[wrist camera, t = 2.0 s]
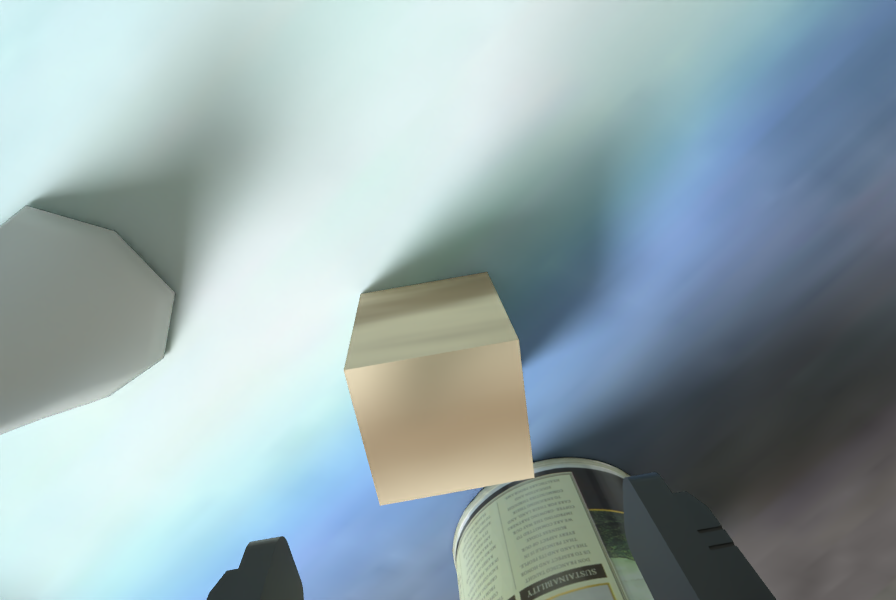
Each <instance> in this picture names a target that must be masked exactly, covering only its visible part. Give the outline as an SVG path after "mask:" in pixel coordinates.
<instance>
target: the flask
mask: <svg viewBox="0 0 896 600" xmlns="http://www.w3.org/2000/svg"><path fill="white" fill-rule="evenodd" d="M174 297H175V292H174V291H173V290H172V289H171V288H170V287H169V286H168V285H167V284H166V283H165V282H164V281H163V280H162V279H161V278H160V277H159V276H158V275H157V274H156V273H155V272H154V271H153V270H152V269H151V268H150V267H149V266H148V265H147V264H146V263H145V261H144V260H143V259H142V258H141V257H140V256H139V255H138V254H137V253H136V252H135V251H134V250H133V249H132V248H131V247H130V246H129V245H128V244H127V243H126V242H125V241H124V240H123V239H122V238H121V237H120V236H119V235H118V234H117V233H116V232H115V231H112V230H109V229H105V228H102V227H99V226H95V225H92V224H88V223H85V222H81V221H78V220H74V219H71V218H67V217H64V216H60V215H57V214H53V213H50V212H47V211H43V210H40V209H36V208H33V207H29V206H25V207H23V208H22V209H21V210H20V211H18V212H17V213H16V214H14V215H13V216H12V217H11V218H9V219H8V220H7V221H6V222H4V223H3V224H2V225H1V226H0V435H1V434H3V433H6V432H9V431H11V430H14V429H17V428H19V427H22V426H25V425H27V424H30V423H32V422H35V421H38V420H40V419H43V418H46V417H49V416H52V415H55V414H58V413H61V412H64V411H67V410H70V409H73V408H76V407H80V406H83V405H86V404H89V403H92V402H95V401H97V400H100V399H103V398H105V397H108V396H110V395H112V394H113V393H114V392H116V391H117V390H119V389H120V388H122V387H123V386H125V385H126V384H127V383H129V382H130V381H132V380H133V379H135V378H136V377H137V376H139V375H140V374H142V373H143V372H145V371H146V370H147V369H149V368H150V367H152V366H153V365H155V364H156V363H158V362H159V361H160V360H162V359H163V358H164V353H165V348H166V342H167V336H168V331H169V325H170V320H171V314H172V308H173V303H174Z"/></svg>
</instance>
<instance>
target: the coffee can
mask: <svg viewBox="0 0 896 600" xmlns="http://www.w3.org/2000/svg"><path fill="white" fill-rule="evenodd" d="M533 469H534V477H535V478H531V479H525V480H519V481H514V482H508V483H503V484H497V485H492V486H486V487H485V488H484V489H483V490H482V491H481V492H479V494H478V495H477V496H476V497H475V499H474V500H473V501H472V502H471V503H470V504H469V505H468V506H467V508H466V509H465V511H464V513H463V515H462V517H461V518H460V520H459V523H458V525H457V528H456V531H455V535H454V542H453V550H452V551H453V557H454V562H455V567H456V571H457V577H458V586H459V595H460V600H654V598H653V596H652V594H651V592H650V590H649V588H648V586H647V584H646V582H645V580H644V578H643V576H642V574H641V572H640V570H639V568H638V566H637V564H636V562H635V560H634V558H633V556H632V554H631V551H630V549H629V546H628V543H627V539H626V535H625V529H624V508H623V479H624V478H625V477H630V475H628V474H626V473H625V472H623V471H622V470H620V469H618V468H616V467H614V466H611V465H609V464H606V463H603V462H600V461H596V460H591V459H585V458H553V459H548V460H542V461H538V462H534V463H533Z"/></svg>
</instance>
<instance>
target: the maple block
mask: <svg viewBox="0 0 896 600" xmlns="http://www.w3.org/2000/svg"><path fill="white" fill-rule="evenodd" d="M344 373H345V377H346V380H347V384H348V388H349V392H350V395H351V399H352V403H353V406H354V410H355V414H356V418H357V421H358V425H359V429H360V433H361V436H362V440H363V444H364V447H365V451H366V455H367V459H368V462H369V466H370V470H371V474H372V477H373V481H374V485H375V488H376V492H377V496H378V500H379V503H380V505H386V504H391V503H397V502H403V501H408V500H414V499H419V498H425V497H430V496H436V495H441V494H447V493H453V492H458V491H464V490H469V489H475V488H480V487H486V486H492V485H497V484H503V483H508V482H514V481H519V480H525V479H531V478H535V477H534V469H533V460H532V451H531V442H530V434H529V425H528V416H527V407H526V399H525V390H524V381H523V372H522V363H521V355H520V346H519V339H518V337H517V335H516V333H515V330H514V328H513V326H512V324H511V322H510V320H509V318H508V315H507V313H506V311H505V309H504V307H503V305H502V302H501V300H500V298H499V296H498V294H497V292H496V290H495V287H494V285H493V283H492V281H491V279H490V277H489V274H488V272H484V273H478V274H472V275H466V276H461V277H455V278H449V279H443V280H438V281H432V282H426V283H420V284H415V285H409V286H403V287H397V288H392V289H386V290H380V291H374V292H369V293H363V294H361V295H360V299H359V304H358V308H357V313H356V317H355V322H354V327H353V331H352V336H351V340H350V345H349V349H348V354H347V358H346V363H345V367H344Z"/></svg>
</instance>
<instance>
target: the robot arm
mask: <svg viewBox="0 0 896 600" xmlns="http://www.w3.org/2000/svg"><path fill="white" fill-rule="evenodd" d="M623 508H624V529H625V535H626V539H627V543H628V546H629V549H630V551H631V554H632V556H633V558H634V560H635V562H636V564H637V566H638V568H639V570H640V572H641V574H642V576H643V578H644V580H645V582H646V584H647V586H648V588H649V590H650V592H651V594H652V596H653V598H654V600H776V598H775V597H774V596H773V594H772V593H771V592H770V590H769V589H768V588H767V586H766V585H765V584H764V582H763V581H762V580H761V578H760V577H759V576H758V574H757V573H756V572H755V570H754V569H753V568H752V566H751V565H750V563H749V562H748V561H747V559H746V558H745V557H744V555H743V554H742V553H741V551H740V550H739V549H738V547H737V546H735V545H734V543H733V541H732V539H731V538H730V537H729V535H728V534H727V533H726V531H725V530H723V529H722V526H721V524H720V523H719V522H718V520H717V519H716V518H715V516H714V515H713V514H712V512H711V511H710V510H709V508H708V507H707V506H706V505H704V504H703V503H702V502H700V501H699V500H697V499H696V498H694V497H693V496H692V495H690V494H689V493H687V492H686V491H685V492H679V493H674V494H672V493H671V491H670V490H669V488H668V487H667V485H666V484H665V482H664V481H663V479H662V478H661V477H660V475H659V474H658V473H656V472H653V473H647V474H642V475H636V476H630V477H625V478H624V479H623ZM207 600H304V597H303V587H302V582H301V579H300V576H299V574H298V571H297V568H296V565H295V562H294V560H293V557H292V554H291V551H290V548H289V546H288V543H287V540H286V539H285V538H284V537H283V536H281V537H276V538H270V539H264V540H258V541H253V542H250V543H249V544H248V545H247V547H246V549H245V552H244V555H243V558H242V560H241V563H240V566H239V568H238V569H234V570H229V571H226V572H225V574H224V575H223V576H222V578H221V579H220V580H219V581H218V583H217V584H216V585H215V586H214V588H213V589H212V590H211V591H210V593H209V595H208V598H207Z"/></svg>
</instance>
